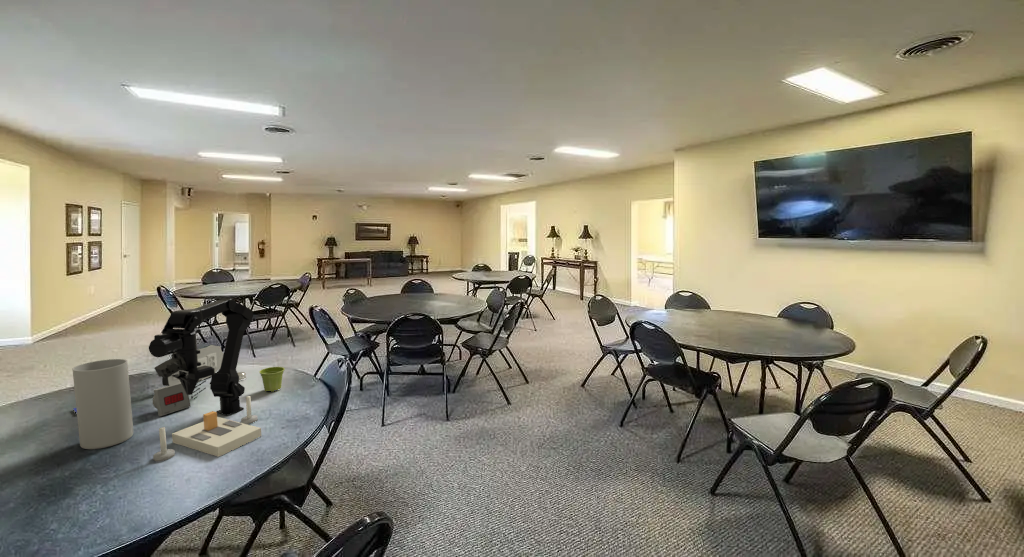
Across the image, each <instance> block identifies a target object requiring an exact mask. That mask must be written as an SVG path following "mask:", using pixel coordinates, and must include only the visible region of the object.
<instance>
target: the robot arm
mask: <svg viewBox="0 0 1024 557" xmlns="http://www.w3.org/2000/svg"><path fill="white" fill-rule="evenodd" d="M219 314H221V315H222V316H223V317H225V323H226V326H227V329H228V333H227V337H226V342H225V345H224V346H225V347H224V351H223V359H222V363H221V367H220V369H219V370H217V371H216V372H215V369H214V368H213V367H211V366H201V362H198V357H197V354H200V350H198V346H197V345H198V344H197V334H199V333H201V332H202V330H201V329H199V328H198V327H199V326H200V325H201V324H202V323H203V321H204V320H207V319H209V318H211V317H214V316H216V315H219ZM253 317H254V312H253V311H252V309H251V308H250V307H247V306H246V305H243V304H242V303H239V302H237V301H236V300H234V299H232V298H220V299H218V300H215V301H213V302H210V303H208V304H204V305H201V306H198V307H195V308H189V309H178V310H174V311H172V312H171V313H170V316H169V317H168V319H167V321H166V322H165V325H164V327H163V329H162V331H161V333H160V334H156V335H155V334H154V336H153V338H154V339H152V340H151V342H150V343H149V345H148V350H149V352H150V353H149V354H150V355H152V356H153V357H155V358H162V357H165V356H169V355H170V356H171V358H169V359H168V360H165V361H163V362H161V363H160V364H158V365H156V366H155V367H154V370H155V372H156V374H157V375H158V377H160V378H161V377H164V378H168V377H170V376H171V375H172V374H174V373H175V375H172V376H173V377H175V378H177V379H179V380H180V382H181V384H182V386H183V388H184V390H185V392H186V394H187V395H189V396H192V395H193V394H194V393H193V392H194V391H195V390H196V388H197V387H196V386H197V385H198V383H199V382H198V381H199V379H201V378H205V377H208V376H210V377H211V379H210V382H209V385H210V386H209V390H211V392H212V395H213V396H214V397H215V398H216V397H218V398H219V406H220V407H219V408H220V409H219V410H216V411H215V412H217V414H221V415H224V416H229V415H232V414H235V413H238V412H240V411H242V410H244V409H245V408H244V407H243V406H241V401H240V397H242V396H243V395H244V394H245V391H246V390H245V389H246V387H245V386H244V385H242V384H241V383H240V381H239V376H238V371H237V367H238V363H239V362H238V361H239V357H240V351H241V348H242V344H243V339H244V334H245V331H246V330H247V329H248V328H249V327H250V326H251V323H252V320H253ZM197 366H201V367H197ZM208 378H209V377H208ZM195 387H196V388H195ZM192 393H193V394H192ZM191 394H192V395H191Z"/></svg>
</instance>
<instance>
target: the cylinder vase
mask: <svg viewBox="0 0 1024 557" xmlns="http://www.w3.org/2000/svg"><path fill="white" fill-rule="evenodd" d="M129 377H130V376H129V365H128V360H127V359H125V358H110V359H103V360H96V361H89V362H85V363H81V364H78V365H76V366H74V367H73V368H72V378H73V380H72V381H73V388H74V397H75V406H76V407H75V408H76V409H77V415H76V417H77V428H78V436H79V437H78V438H79V446H80V447H81V448H82V449H85V450H99V449H104V448H110V447H113V446H116V445H119V444H122V443H124V442H126V441H128V440H129V439H130V438H132V436H133V435H134V425H133V412H132V401H131V399H132V398H131V389H130V388H131V386H130V378H129Z"/></svg>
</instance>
